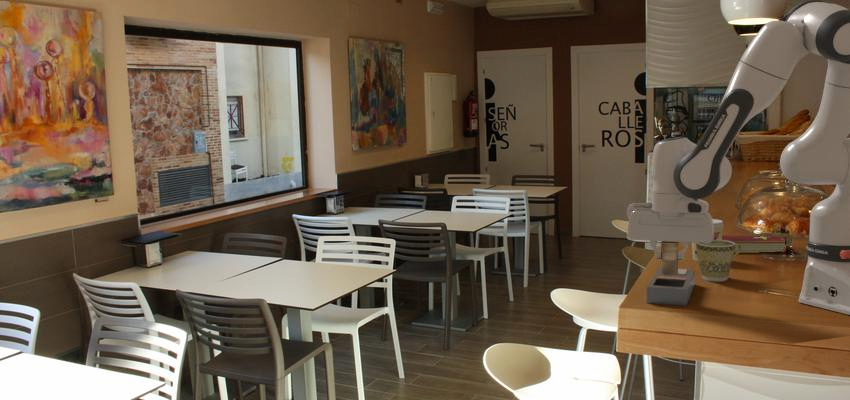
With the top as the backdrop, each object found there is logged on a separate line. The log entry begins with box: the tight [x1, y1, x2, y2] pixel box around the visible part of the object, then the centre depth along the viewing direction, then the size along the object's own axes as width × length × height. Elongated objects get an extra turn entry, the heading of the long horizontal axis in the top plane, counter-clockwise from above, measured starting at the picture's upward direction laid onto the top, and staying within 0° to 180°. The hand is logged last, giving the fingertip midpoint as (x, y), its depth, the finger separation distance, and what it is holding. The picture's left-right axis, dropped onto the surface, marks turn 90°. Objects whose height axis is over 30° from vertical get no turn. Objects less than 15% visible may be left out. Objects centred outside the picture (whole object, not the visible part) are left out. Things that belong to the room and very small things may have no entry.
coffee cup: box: [691, 218, 724, 263], centre depth 232 cm, size 9×9×12 cm
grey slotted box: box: [646, 267, 696, 307], centre depth 195 cm, size 22×9×4 cm, turn 156°
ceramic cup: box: [696, 240, 741, 283], centre depth 209 cm, size 13×10×10 cm
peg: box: [660, 241, 679, 276], centre depth 189 cm, size 4×4×8 cm
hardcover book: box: [722, 234, 786, 254], centre depth 246 cm, size 12×21×4 cm, turn 82°
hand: (669, 259), depth 189 cm, fingers closed on peg, 4 cm apart
